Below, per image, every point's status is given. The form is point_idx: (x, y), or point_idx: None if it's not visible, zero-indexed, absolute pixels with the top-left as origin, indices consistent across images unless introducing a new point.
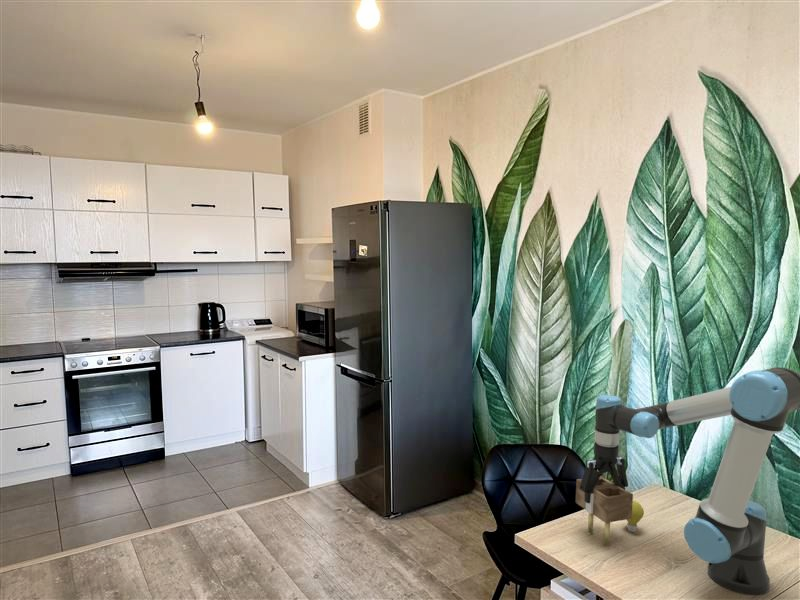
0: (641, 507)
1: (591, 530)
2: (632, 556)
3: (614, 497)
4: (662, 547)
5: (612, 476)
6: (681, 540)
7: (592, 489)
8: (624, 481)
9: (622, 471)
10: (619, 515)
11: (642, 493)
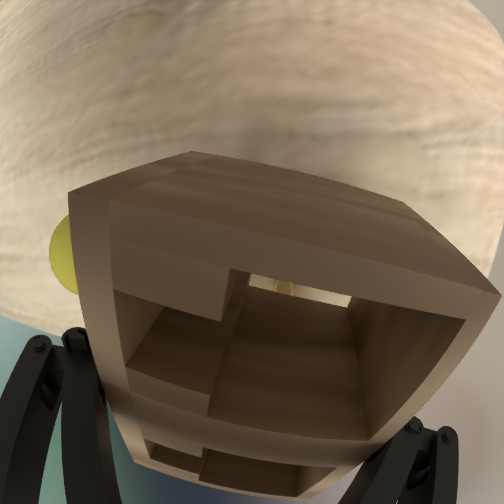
0: (56, 232)
1: (288, 285)
2: (292, 87)
3: (408, 267)
4: (131, 90)
5: (112, 477)
6: (57, 111)
7: (399, 445)
8: (35, 380)
9: (8, 466)
10: (296, 178)
11: (23, 318)
